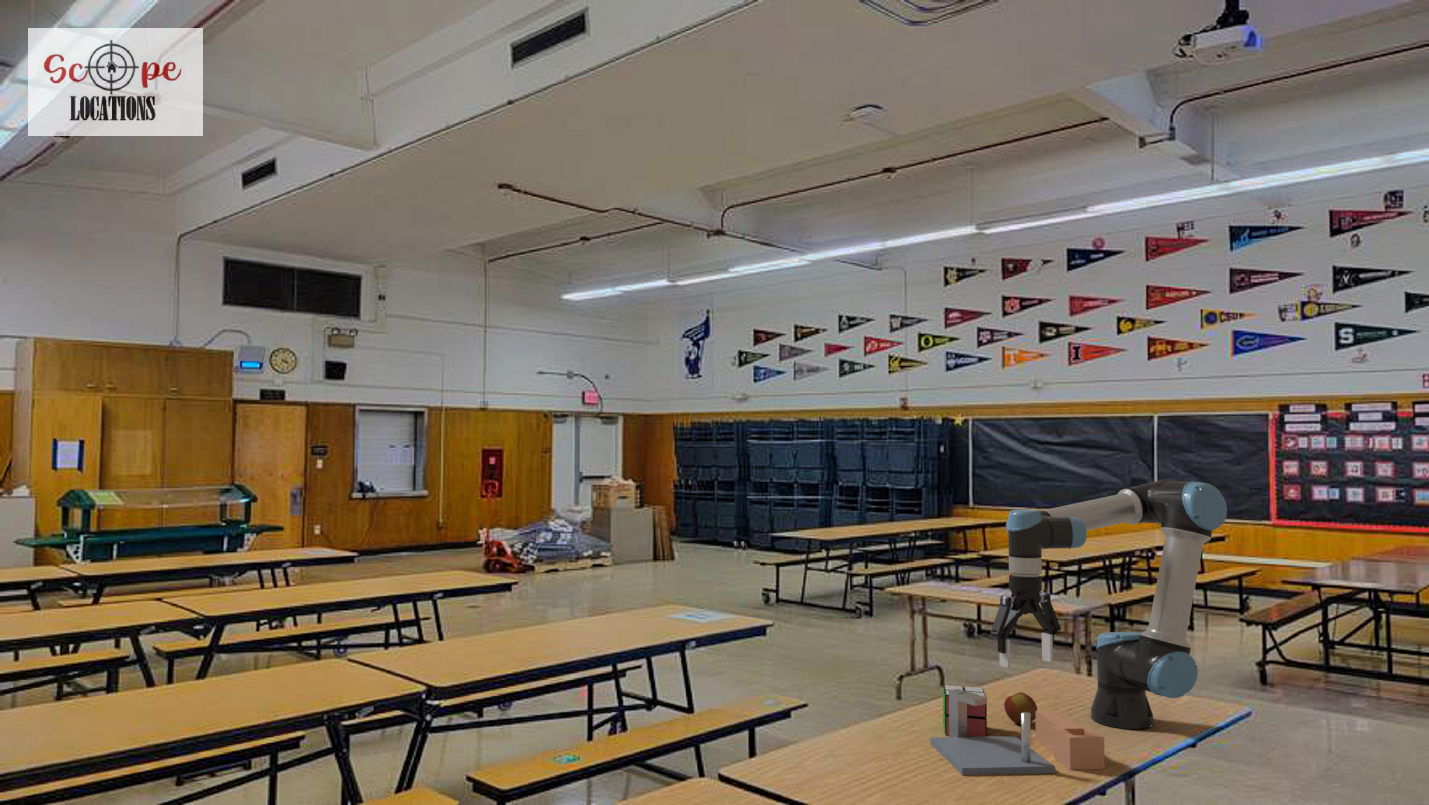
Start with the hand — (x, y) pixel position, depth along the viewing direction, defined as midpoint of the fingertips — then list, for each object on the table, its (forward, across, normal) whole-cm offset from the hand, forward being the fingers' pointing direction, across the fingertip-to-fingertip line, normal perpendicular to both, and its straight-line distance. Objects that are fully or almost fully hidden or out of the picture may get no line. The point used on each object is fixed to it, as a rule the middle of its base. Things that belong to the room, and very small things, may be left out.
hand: (1026, 664), depth 215 cm
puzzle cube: (+20, +4, -17) cm, 27 cm away
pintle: (+20, +10, +10) cm, 24 cm away
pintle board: (+20, +13, +1) cm, 24 cm away
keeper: (+20, +11, -8) cm, 24 cm away
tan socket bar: (+20, -5, +6) cm, 22 cm away
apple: (+20, -13, -15) cm, 29 cm away
